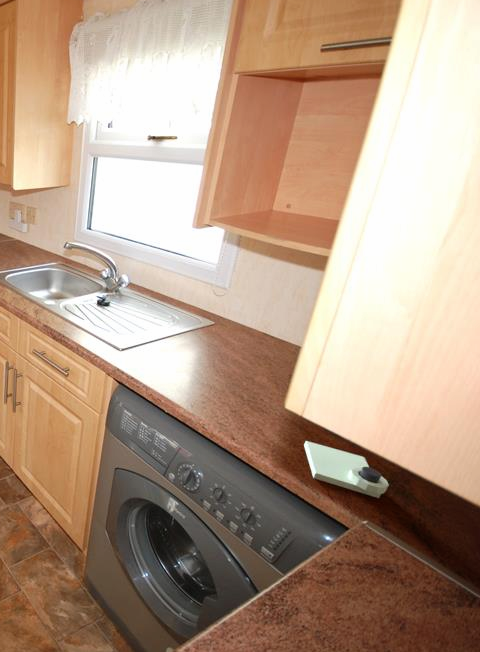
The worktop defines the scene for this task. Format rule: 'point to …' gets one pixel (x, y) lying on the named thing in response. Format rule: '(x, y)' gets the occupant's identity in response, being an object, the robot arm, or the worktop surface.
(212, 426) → the worktop surface
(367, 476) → the button
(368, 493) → the scale
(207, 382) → the worktop surface
